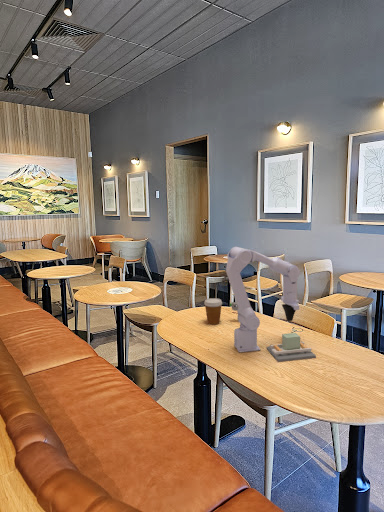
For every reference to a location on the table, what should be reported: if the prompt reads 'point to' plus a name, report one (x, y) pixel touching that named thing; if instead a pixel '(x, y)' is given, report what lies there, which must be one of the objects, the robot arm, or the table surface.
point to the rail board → (290, 353)
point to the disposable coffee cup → (213, 310)
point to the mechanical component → (233, 306)
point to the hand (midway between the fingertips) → (289, 320)
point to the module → (290, 341)
